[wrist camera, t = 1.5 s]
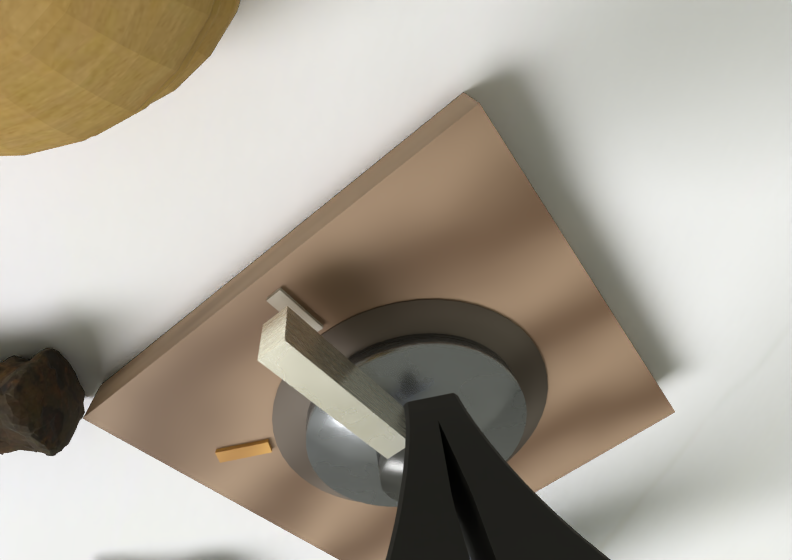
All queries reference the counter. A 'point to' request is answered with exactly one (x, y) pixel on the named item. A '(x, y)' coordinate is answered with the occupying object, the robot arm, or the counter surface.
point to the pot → (95, 63)
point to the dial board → (390, 333)
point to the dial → (385, 399)
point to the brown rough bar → (39, 403)
